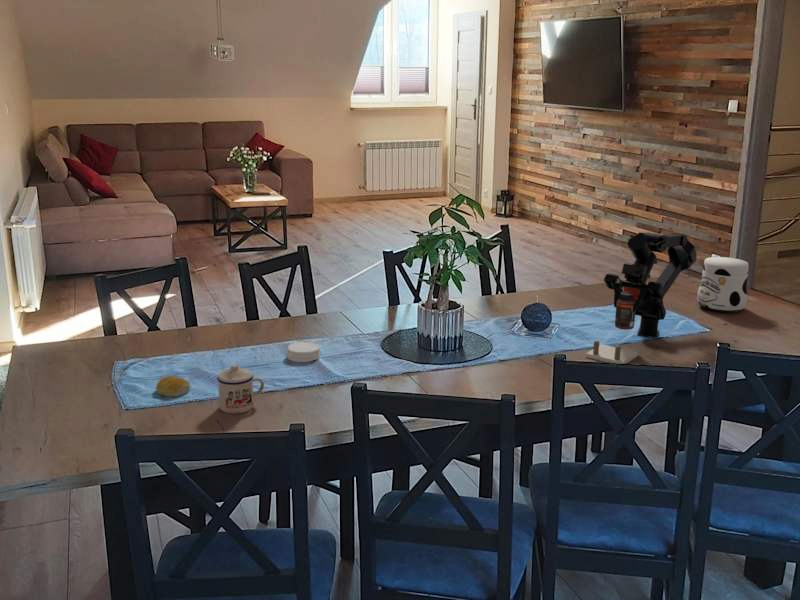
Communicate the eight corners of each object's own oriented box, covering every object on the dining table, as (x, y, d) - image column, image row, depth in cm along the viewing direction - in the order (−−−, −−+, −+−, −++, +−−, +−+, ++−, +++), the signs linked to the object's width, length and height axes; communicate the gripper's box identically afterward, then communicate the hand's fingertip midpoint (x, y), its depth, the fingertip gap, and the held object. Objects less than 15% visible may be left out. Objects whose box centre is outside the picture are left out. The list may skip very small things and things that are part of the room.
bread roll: (172, 383, 226) (171, 370, 225) (195, 390, 221) (194, 377, 220) (149, 393, 219) (148, 379, 218) (172, 400, 214) (171, 386, 213)
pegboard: (601, 347, 257) (602, 332, 256) (637, 356, 250) (638, 340, 249) (585, 356, 249) (587, 341, 247) (622, 366, 242) (624, 349, 240)
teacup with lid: (224, 417, 204) (221, 374, 201) (215, 403, 212) (212, 362, 209) (269, 408, 209) (268, 367, 206) (259, 396, 217) (257, 355, 214)
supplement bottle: (637, 330, 253) (640, 295, 250) (619, 330, 252) (621, 296, 249) (629, 323, 259) (632, 290, 255) (611, 324, 258) (614, 290, 254)
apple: (618, 300, 309) (620, 272, 306) (639, 299, 310) (642, 272, 307) (626, 306, 301) (629, 278, 298) (648, 305, 302) (651, 278, 299)
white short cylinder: (310, 365, 240) (310, 354, 239) (281, 360, 244) (281, 349, 243) (325, 354, 249) (325, 343, 248) (297, 350, 253) (296, 339, 252)
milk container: (690, 310, 298) (695, 262, 293) (702, 299, 311) (708, 254, 306) (739, 318, 288) (745, 269, 283) (750, 307, 302) (756, 260, 297)
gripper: (608, 248, 257) (589, 289, 252) (664, 258, 245) (645, 301, 241) (617, 267, 265) (599, 307, 261) (672, 277, 253) (654, 319, 249)
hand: (623, 308), depth 252 cm, fingers closed on supplement bottle, 6 cm apart
